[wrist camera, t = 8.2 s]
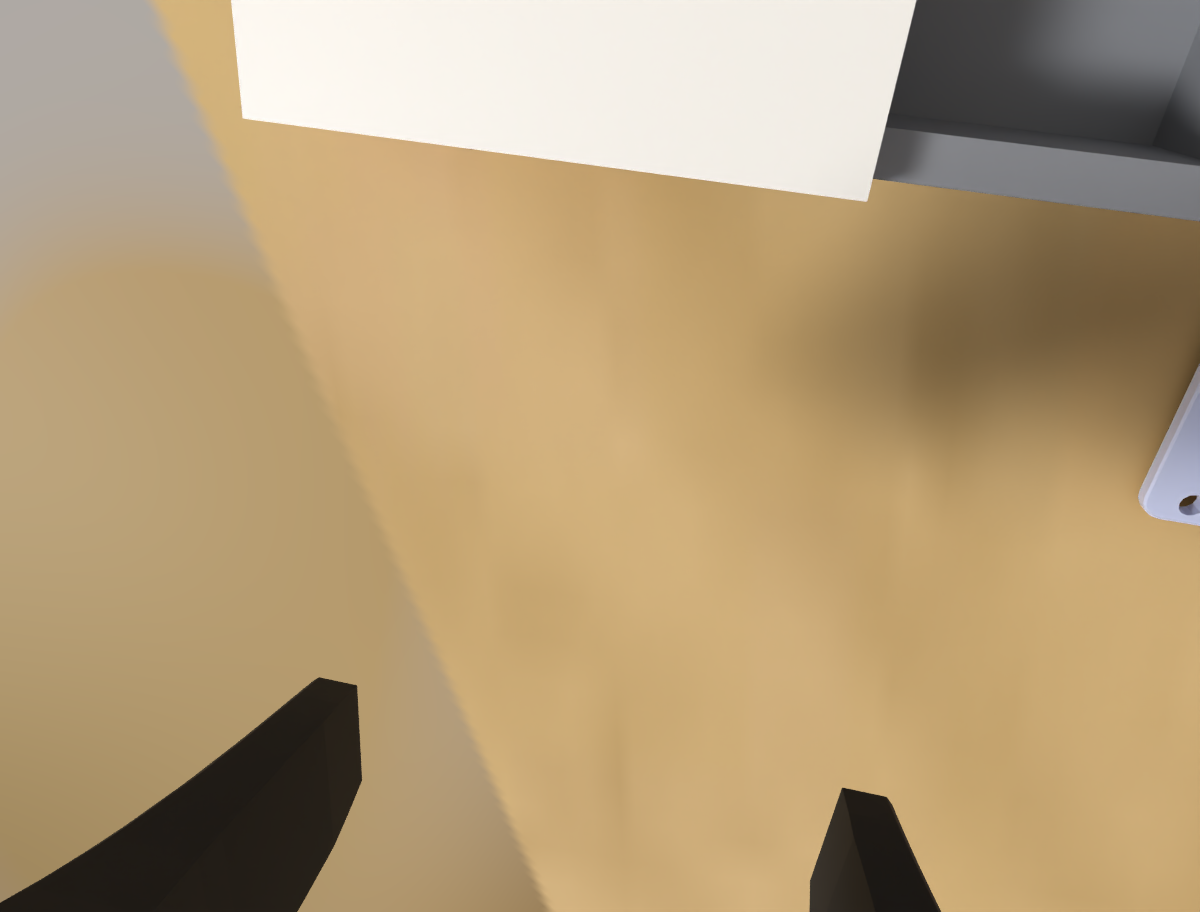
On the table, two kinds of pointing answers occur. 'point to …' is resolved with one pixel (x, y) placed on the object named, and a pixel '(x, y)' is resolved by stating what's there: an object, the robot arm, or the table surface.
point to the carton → (1051, 102)
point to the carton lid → (594, 80)
